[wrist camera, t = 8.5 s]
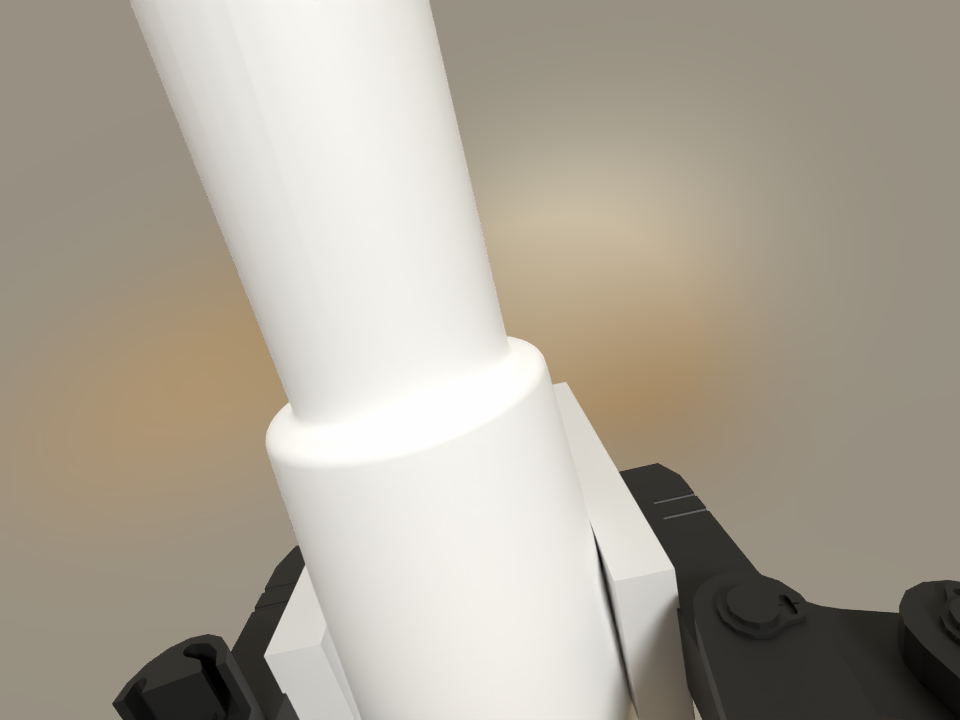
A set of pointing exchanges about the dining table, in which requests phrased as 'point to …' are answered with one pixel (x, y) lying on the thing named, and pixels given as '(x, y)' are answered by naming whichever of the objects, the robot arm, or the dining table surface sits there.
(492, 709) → the cosmetic bottle
